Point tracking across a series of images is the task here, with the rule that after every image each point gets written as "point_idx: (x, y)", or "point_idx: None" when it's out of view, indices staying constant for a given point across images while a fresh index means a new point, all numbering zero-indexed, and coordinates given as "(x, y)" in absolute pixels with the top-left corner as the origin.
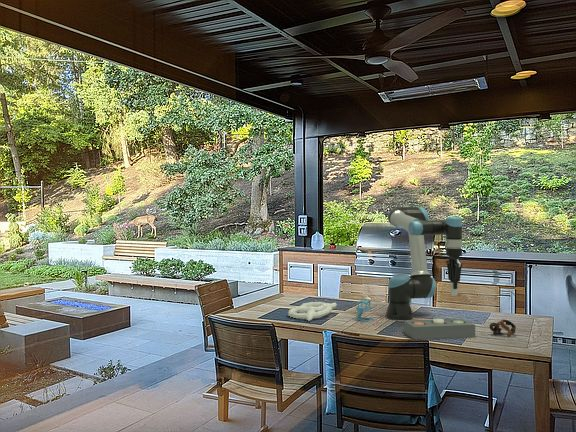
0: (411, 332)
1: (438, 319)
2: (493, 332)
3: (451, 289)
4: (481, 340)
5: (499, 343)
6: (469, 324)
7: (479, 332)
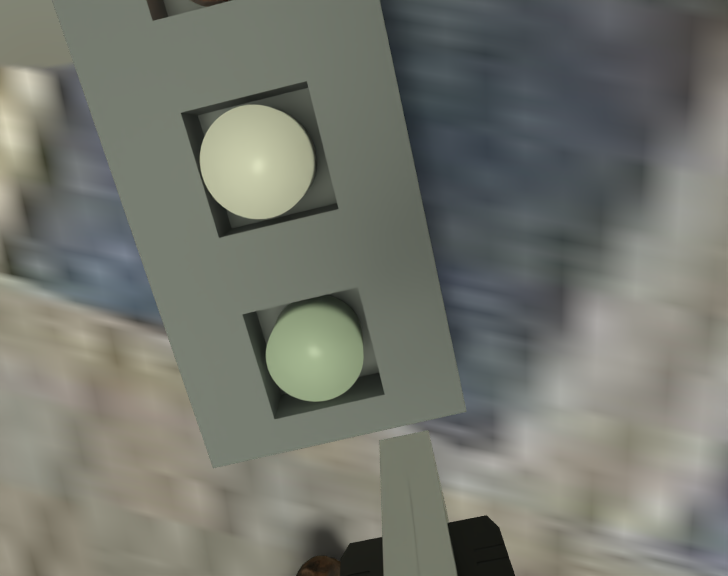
0: None
1: (256, 162)
2: None
3: (410, 494)
4: (151, 434)
5: (90, 522)
6: (214, 425)
7: None
